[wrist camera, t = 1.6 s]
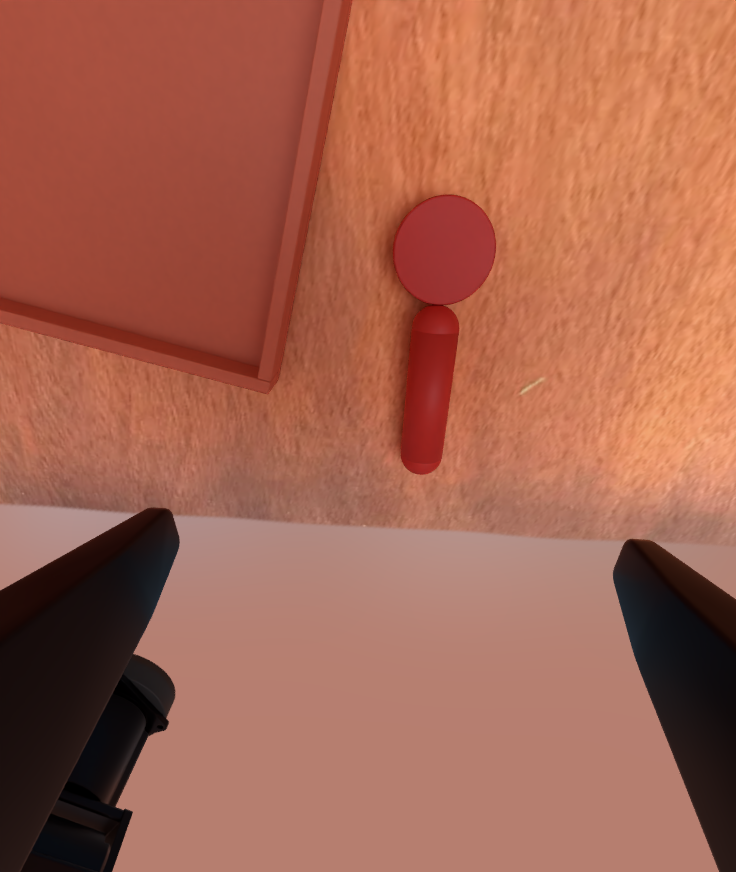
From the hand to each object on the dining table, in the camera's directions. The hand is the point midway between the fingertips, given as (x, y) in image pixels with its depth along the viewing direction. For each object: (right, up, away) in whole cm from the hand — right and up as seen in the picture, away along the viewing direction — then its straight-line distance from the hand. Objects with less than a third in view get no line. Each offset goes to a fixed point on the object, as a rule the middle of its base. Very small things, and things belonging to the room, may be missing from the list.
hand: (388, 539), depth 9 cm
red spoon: (+2, +6, +11) cm, 13 cm away
